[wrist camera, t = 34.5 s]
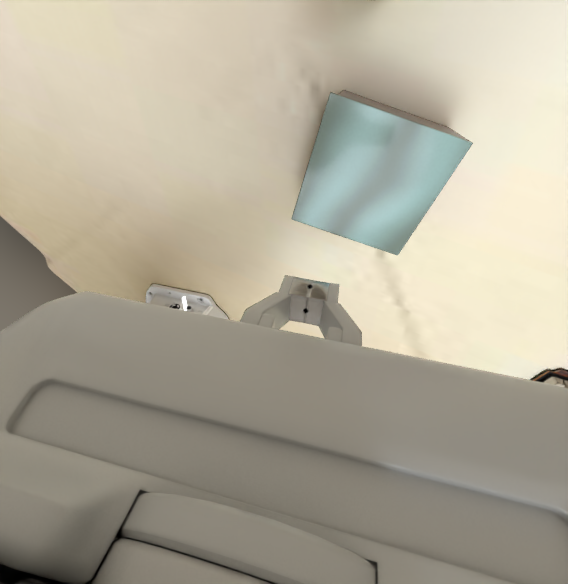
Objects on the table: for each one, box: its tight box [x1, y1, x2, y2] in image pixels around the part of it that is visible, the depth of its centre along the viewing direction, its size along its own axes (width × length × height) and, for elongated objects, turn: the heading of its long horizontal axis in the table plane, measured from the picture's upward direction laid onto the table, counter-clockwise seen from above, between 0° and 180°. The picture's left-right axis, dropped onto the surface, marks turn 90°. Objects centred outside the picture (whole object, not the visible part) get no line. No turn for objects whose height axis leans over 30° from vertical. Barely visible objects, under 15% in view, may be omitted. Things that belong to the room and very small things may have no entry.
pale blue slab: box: [292, 92, 473, 255], centre depth 31 cm, size 15×14×1 cm
